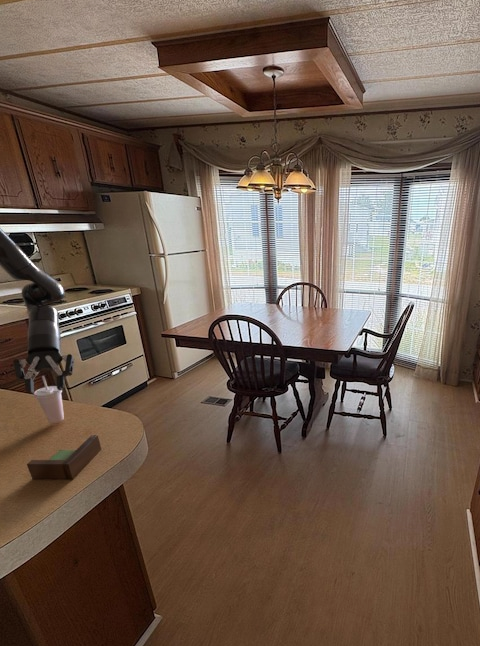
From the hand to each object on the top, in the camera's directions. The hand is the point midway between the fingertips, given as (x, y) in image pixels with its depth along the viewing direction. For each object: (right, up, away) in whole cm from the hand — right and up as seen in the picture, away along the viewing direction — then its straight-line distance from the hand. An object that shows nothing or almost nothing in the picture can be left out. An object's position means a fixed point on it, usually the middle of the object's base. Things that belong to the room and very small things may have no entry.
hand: (45, 391), depth 96 cm
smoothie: (-1, -9, +5) cm, 11 cm away
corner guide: (+14, -18, -11) cm, 25 cm away
